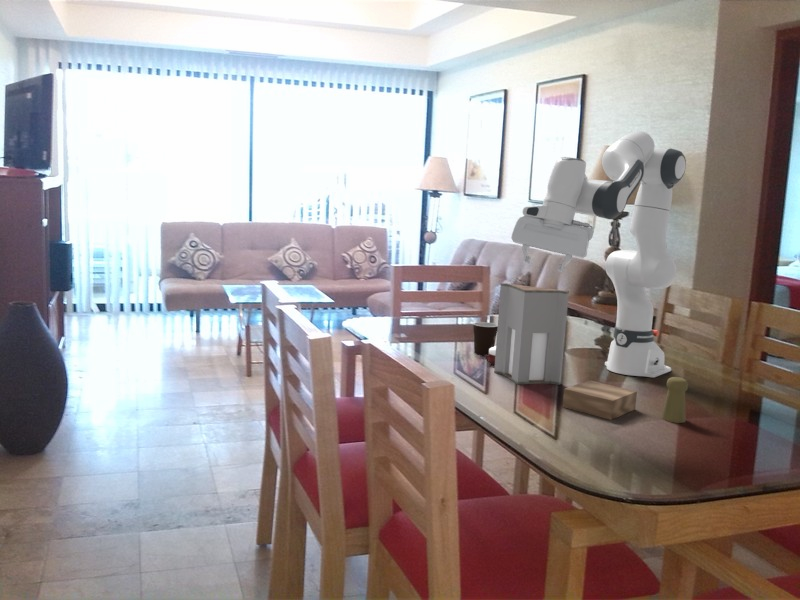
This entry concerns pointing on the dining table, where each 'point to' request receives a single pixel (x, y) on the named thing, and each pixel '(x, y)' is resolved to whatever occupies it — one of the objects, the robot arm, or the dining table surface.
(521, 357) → the cabinet
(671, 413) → the cork
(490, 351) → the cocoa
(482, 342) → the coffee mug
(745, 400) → the dining table surface
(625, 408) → the wooden block
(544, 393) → the dining table surface
